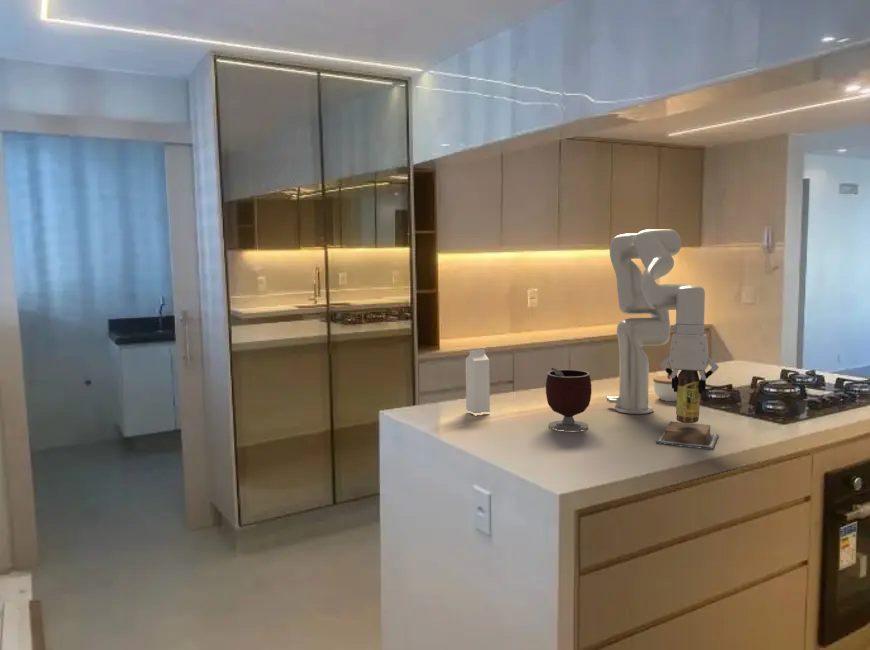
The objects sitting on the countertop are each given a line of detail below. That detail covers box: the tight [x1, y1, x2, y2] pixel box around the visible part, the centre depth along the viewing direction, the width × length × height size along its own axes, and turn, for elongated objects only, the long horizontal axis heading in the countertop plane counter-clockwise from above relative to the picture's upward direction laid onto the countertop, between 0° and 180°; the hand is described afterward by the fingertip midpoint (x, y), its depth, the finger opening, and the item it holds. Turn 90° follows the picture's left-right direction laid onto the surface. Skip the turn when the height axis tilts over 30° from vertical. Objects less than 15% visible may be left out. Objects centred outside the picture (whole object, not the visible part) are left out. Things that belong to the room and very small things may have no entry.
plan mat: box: [655, 420, 719, 450], centre depth 195 cm, size 15×15×4 cm
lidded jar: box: [653, 373, 677, 402], centre depth 248 cm, size 11×11×9 cm
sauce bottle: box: [675, 370, 701, 424], centre depth 194 cm, size 6×6×20 cm
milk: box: [465, 348, 491, 413], centre depth 231 cm, size 6×6×22 cm
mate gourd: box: [545, 367, 592, 431], centre depth 211 cm, size 16×14×20 cm
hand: (688, 391), depth 194 cm, fingers closed on sauce bottle, 6 cm apart
